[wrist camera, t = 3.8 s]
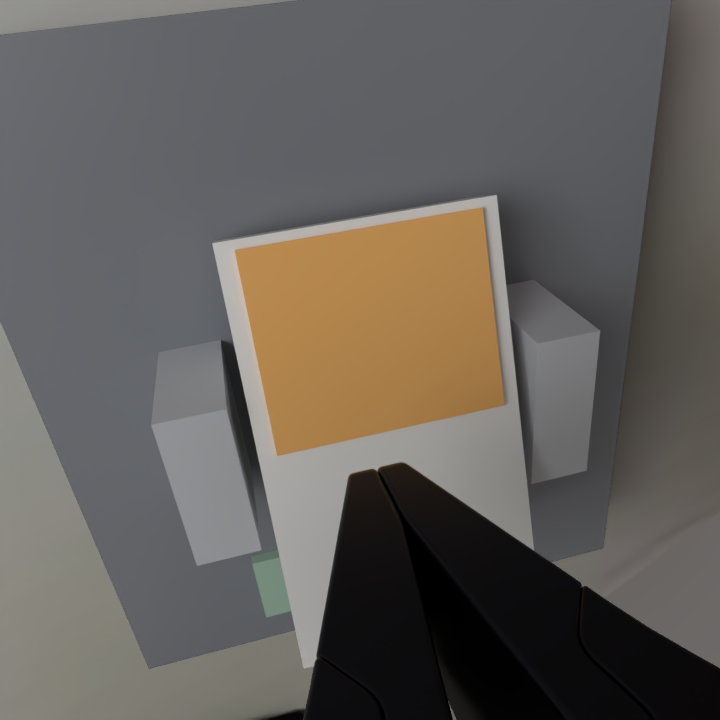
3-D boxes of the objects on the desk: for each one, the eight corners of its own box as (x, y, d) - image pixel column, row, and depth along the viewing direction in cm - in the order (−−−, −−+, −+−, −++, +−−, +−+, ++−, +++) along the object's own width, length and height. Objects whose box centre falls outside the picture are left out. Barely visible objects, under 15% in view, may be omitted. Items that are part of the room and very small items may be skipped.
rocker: (512, 569, 17) (542, 607, 16) (297, 627, 16) (304, 673, 15) (469, 198, 15) (499, 194, 13) (214, 241, 14) (212, 243, 12)
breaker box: (561, 494, 25) (659, 620, 20) (154, 595, 23) (141, 770, 18) (600, -34, 16) (796, -59, 11) (-60, 42, 14) (-215, 58, 9)
